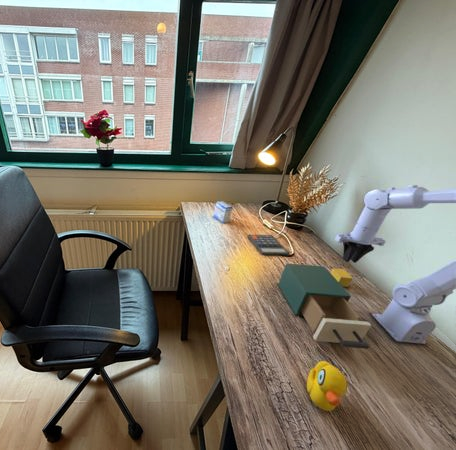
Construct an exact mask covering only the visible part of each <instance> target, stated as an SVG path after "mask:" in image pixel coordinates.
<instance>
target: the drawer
mask: <svg viewBox="0 0 456 450" xmlns="http://www.w3.org/2000/svg"><path fill="white" fill-rule="evenodd" d="M301 313H302V314H303V316H302V317H303V318H304V320H305V321H306V323H307V324H308V326H309V328H310V329H311V331H312V333H314V334H313V336H312V338H313V340H314V341H315V342H325V343H326V342H327V343H336V344H337V343H338V344H339V346H340V347H343V348H353V349H369V348H370V347H369V346H370V345H369V343H368V342H366V341H364V340H363V339H364V337H365V336H366V334H367V333H368V331H369V329H370V328H371V327H372V324H371V323H370V322H369V321H364V320H361V319H362V317H361V315H359V313H358V312H357V311H356V310H355V309H354V307H352V305H351V304H350V303H349V301H348V302H347V301H346V299H345V298H342V297H330V296H318V295H308V296H307V298H306V300H305V302H304V304H303V306H302V309H301Z"/></svg>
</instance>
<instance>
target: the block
mask: <svg viewBox="0 0 456 450" xmlns="http://www.w3.org/2000/svg"><path fill="white" fill-rule="evenodd" d="M330 273H331V274H332V276H333V277H334V278H335V279H336V280H337V281H338V282H339V283H340V284H341V285H342V287H343V288H348V287H349V286H350V284H351V283H352V281H353V279H354V278H353V276H352V275H350V274H349V273H348V272H347V271H346V270H345V269H344V268H335V267H333V268H332V269H331V271H330Z"/></svg>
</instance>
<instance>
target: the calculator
mask: <svg viewBox="0 0 456 450" xmlns="http://www.w3.org/2000/svg"><path fill="white" fill-rule="evenodd" d="M247 237H248V238H249V240H250V242H252V244H253V245H254V247H255V248H256V249H257V250H258V251H259V252H260V254H261V255H268V256H270V255H271V256H272V255H273V256H289V255H290V252H289V251H288V250H287V249H286V248H285V247H284V246H283V245H282V244H281V243H280V242H279V241H278V239H276V238H275V236H273V235H272V234H247Z"/></svg>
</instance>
